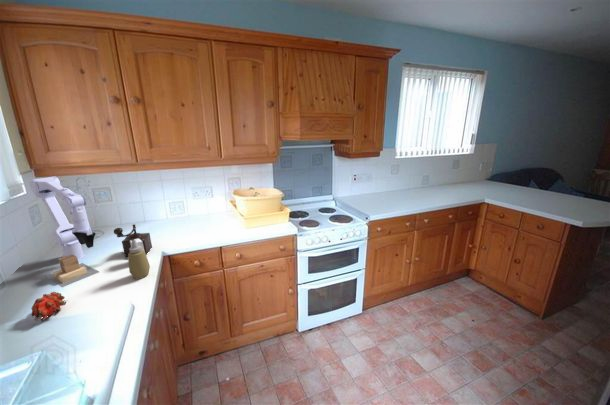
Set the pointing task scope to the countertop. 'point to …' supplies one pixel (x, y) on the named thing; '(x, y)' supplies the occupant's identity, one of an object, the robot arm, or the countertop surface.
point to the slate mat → (89, 271)
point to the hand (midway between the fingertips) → (87, 245)
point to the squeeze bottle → (138, 261)
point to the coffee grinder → (126, 242)
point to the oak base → (70, 274)
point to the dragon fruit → (48, 305)
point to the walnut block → (69, 263)
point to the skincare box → (138, 243)
